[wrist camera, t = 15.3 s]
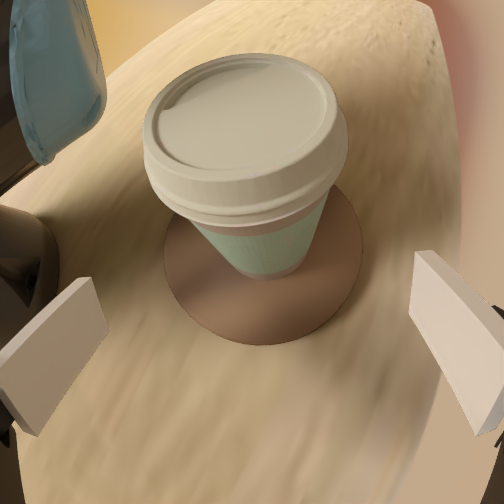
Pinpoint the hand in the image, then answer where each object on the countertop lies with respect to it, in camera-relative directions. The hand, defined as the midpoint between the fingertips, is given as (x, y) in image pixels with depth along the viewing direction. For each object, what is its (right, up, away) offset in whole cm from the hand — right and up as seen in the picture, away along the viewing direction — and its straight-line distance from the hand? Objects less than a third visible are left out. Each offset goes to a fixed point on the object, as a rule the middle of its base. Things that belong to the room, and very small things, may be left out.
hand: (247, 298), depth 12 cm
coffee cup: (+1, +2, +10) cm, 10 cm away
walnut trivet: (+1, +2, +11) cm, 12 cm away
